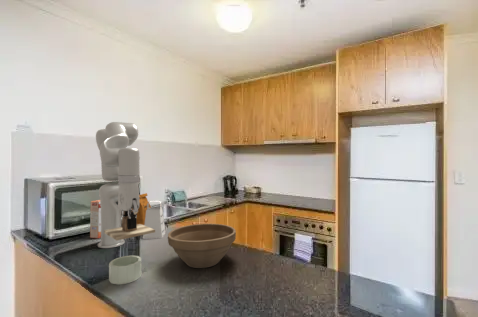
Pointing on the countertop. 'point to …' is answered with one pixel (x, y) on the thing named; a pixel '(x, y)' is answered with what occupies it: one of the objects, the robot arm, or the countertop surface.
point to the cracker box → (95, 219)
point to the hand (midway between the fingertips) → (129, 227)
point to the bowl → (125, 269)
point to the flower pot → (202, 243)
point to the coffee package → (142, 209)
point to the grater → (154, 221)
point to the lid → (128, 230)
